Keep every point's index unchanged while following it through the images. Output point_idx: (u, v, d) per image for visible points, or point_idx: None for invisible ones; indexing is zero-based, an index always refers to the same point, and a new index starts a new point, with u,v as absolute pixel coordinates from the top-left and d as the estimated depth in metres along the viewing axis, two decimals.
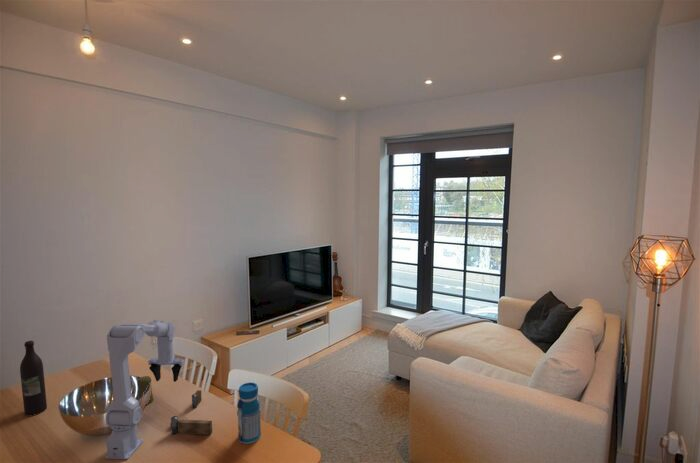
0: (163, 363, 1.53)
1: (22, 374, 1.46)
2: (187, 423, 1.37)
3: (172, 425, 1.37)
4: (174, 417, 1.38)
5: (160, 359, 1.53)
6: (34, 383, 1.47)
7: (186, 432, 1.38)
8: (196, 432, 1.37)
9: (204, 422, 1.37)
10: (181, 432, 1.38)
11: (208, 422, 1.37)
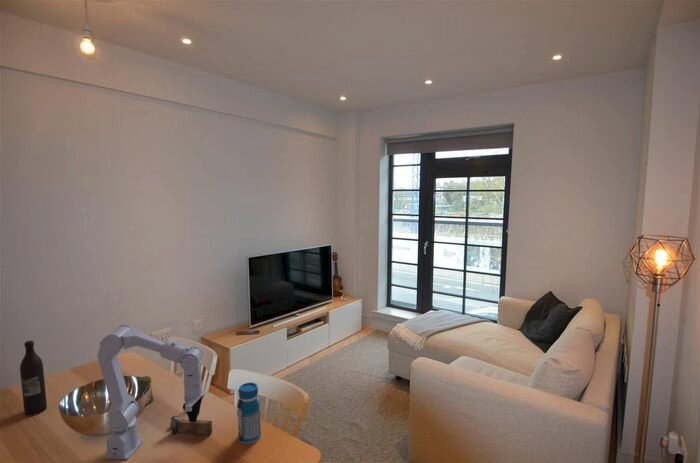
0: (184, 396, 1.29)
1: (22, 374, 1.46)
2: (187, 423, 1.37)
3: (172, 425, 1.37)
4: (174, 417, 1.38)
5: None
6: (34, 383, 1.47)
7: (186, 432, 1.38)
8: (196, 432, 1.37)
9: (204, 422, 1.37)
10: (181, 432, 1.38)
11: (208, 422, 1.37)
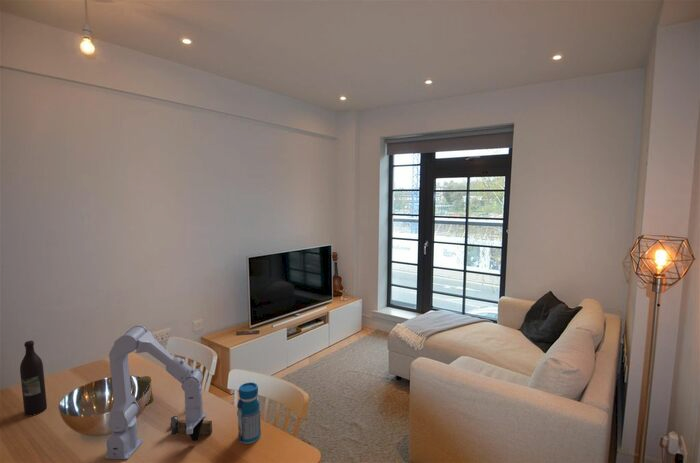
0: (185, 418, 1.30)
1: (22, 374, 1.46)
2: None
3: (172, 425, 1.37)
4: (174, 417, 1.38)
5: None
6: (34, 383, 1.47)
7: None
8: None
9: (204, 422, 1.37)
10: (181, 432, 1.38)
11: (208, 422, 1.37)
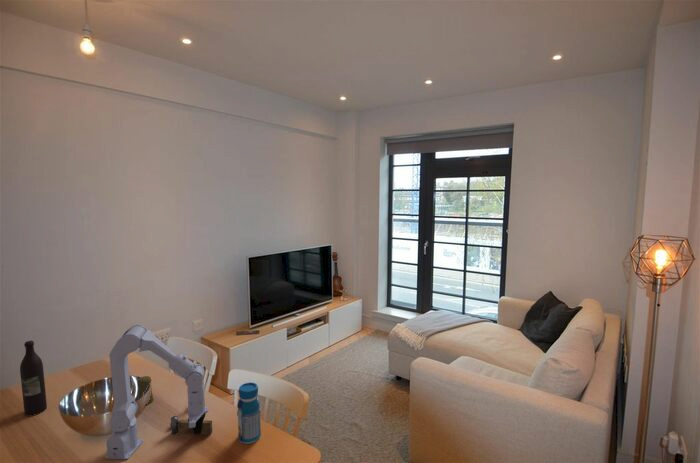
0: None
1: (22, 374, 1.46)
2: (187, 423, 1.37)
3: (172, 425, 1.37)
4: (174, 417, 1.38)
5: None
6: (34, 383, 1.47)
7: (186, 432, 1.38)
8: None
9: (204, 422, 1.37)
10: (181, 432, 1.38)
11: (208, 422, 1.37)
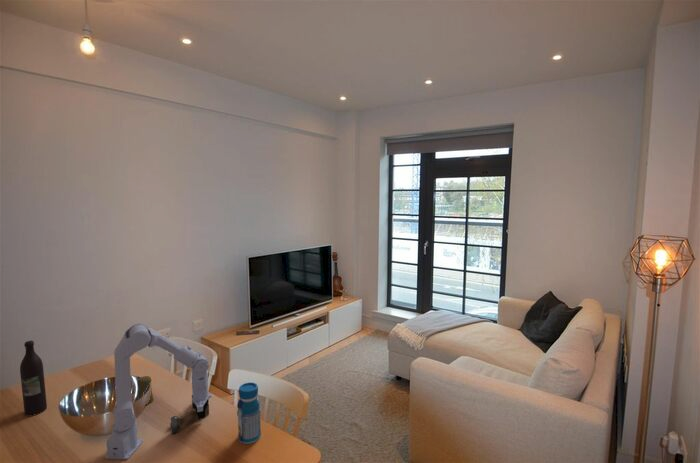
0: (192, 399, 1.42)
1: (22, 374, 1.46)
2: (188, 415, 1.42)
3: (172, 425, 1.37)
4: (174, 417, 1.38)
5: None
6: (34, 383, 1.47)
7: (188, 424, 1.42)
8: (197, 419, 1.45)
9: None
10: (183, 427, 1.40)
11: None
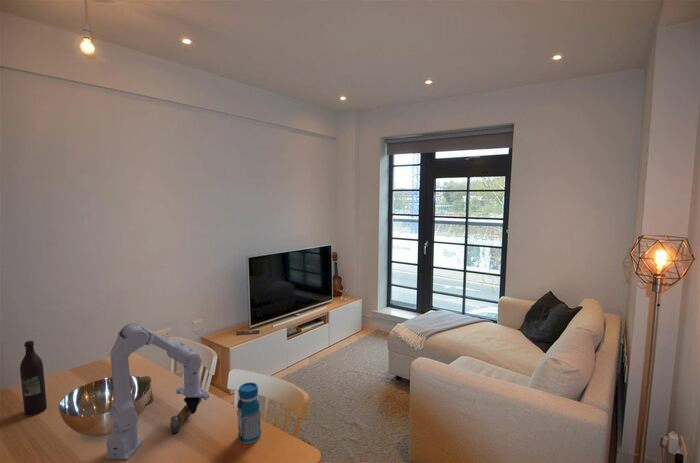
0: (188, 395, 1.44)
1: (22, 374, 1.46)
2: (183, 413, 1.43)
3: (172, 425, 1.37)
4: (174, 417, 1.38)
5: (185, 390, 1.45)
6: (34, 383, 1.47)
7: (183, 422, 1.43)
8: (188, 416, 1.47)
9: None
10: (181, 425, 1.41)
11: None
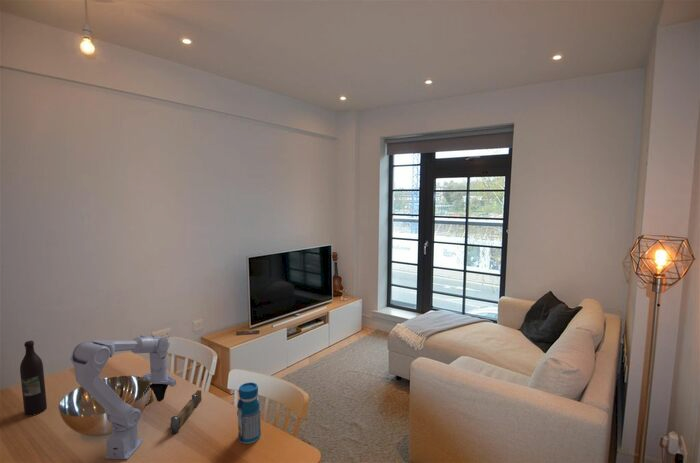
0: (154, 382, 1.39)
1: (22, 374, 1.46)
2: (183, 413, 1.43)
3: (172, 425, 1.37)
4: (174, 417, 1.38)
5: (151, 377, 1.39)
6: (34, 383, 1.47)
7: (183, 422, 1.43)
8: (188, 416, 1.47)
9: (190, 402, 1.50)
10: (181, 425, 1.41)
11: (191, 400, 1.51)
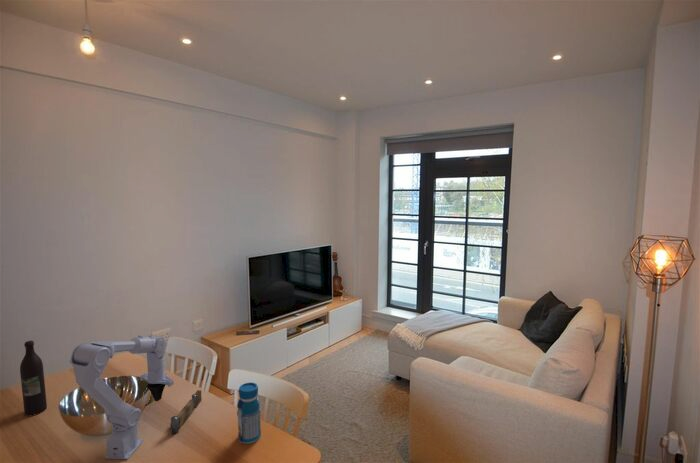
0: (151, 381, 1.39)
1: (22, 374, 1.46)
2: (183, 413, 1.43)
3: (172, 425, 1.37)
4: (174, 417, 1.38)
5: (149, 377, 1.39)
6: (34, 383, 1.47)
7: (183, 422, 1.43)
8: (188, 416, 1.47)
9: (190, 402, 1.50)
10: (181, 425, 1.41)
11: (191, 400, 1.51)
